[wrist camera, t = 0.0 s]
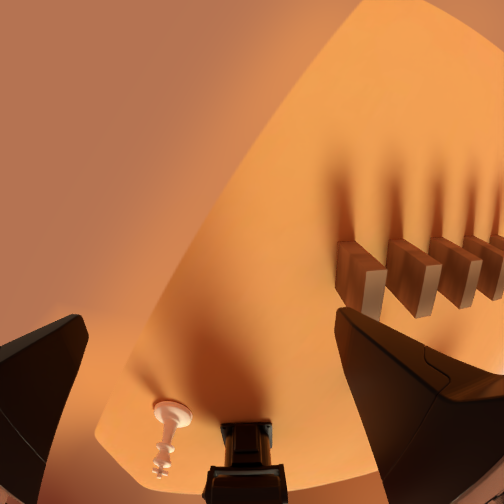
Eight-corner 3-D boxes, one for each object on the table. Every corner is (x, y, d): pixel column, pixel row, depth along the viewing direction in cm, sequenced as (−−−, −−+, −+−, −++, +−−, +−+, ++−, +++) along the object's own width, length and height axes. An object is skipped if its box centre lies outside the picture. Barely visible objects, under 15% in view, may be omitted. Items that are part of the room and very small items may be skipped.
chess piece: (156, 396, 29) (136, 463, 20) (195, 407, 30) (184, 476, 21) (153, 417, 31) (136, 478, 21) (189, 427, 31) (179, 489, 22)
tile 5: (466, 273, 25) (501, 298, 19) (457, 274, 25) (492, 301, 19) (473, 235, 24) (512, 256, 18) (464, 236, 24) (503, 257, 18)
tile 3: (397, 282, 25) (430, 315, 19) (383, 283, 25) (415, 318, 19) (403, 238, 24) (442, 264, 17) (388, 239, 24) (426, 266, 17)
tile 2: (351, 287, 25) (378, 324, 19) (335, 288, 25) (358, 327, 19) (355, 241, 24) (387, 269, 17) (338, 241, 24) (366, 271, 17)
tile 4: (435, 277, 25) (471, 306, 19) (424, 279, 25) (459, 309, 19) (442, 237, 24) (482, 259, 18) (430, 237, 24) (471, 261, 18)
